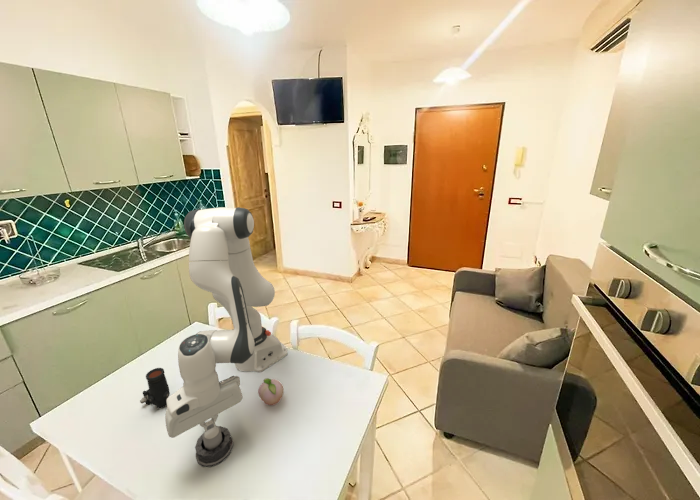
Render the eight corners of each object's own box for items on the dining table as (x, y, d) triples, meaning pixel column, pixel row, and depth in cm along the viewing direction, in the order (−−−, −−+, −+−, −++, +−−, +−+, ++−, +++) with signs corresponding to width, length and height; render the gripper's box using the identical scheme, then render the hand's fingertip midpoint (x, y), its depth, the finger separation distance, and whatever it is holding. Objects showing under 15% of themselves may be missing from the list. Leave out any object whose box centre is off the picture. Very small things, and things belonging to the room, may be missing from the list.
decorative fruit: (289, 402, 108) (287, 380, 105) (270, 416, 102) (267, 393, 99) (275, 389, 114) (273, 368, 111) (256, 402, 108) (253, 380, 105)
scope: (153, 361, 109) (173, 367, 106) (161, 391, 113) (180, 398, 110) (131, 376, 102) (152, 383, 98) (140, 407, 106) (160, 415, 103)
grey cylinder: (220, 437, 94) (217, 422, 92) (225, 448, 90) (222, 432, 88) (203, 446, 91) (200, 431, 89) (208, 459, 87) (205, 443, 85)
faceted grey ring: (226, 428, 98) (224, 419, 96) (238, 451, 90) (236, 441, 89) (192, 448, 91) (189, 438, 90) (202, 474, 84) (199, 464, 82)
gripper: (235, 367, 92) (240, 402, 96) (159, 402, 79) (169, 440, 84) (243, 378, 88) (248, 415, 92) (164, 417, 75) (174, 457, 79)
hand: (210, 427), depth 88 cm, fingers closed
